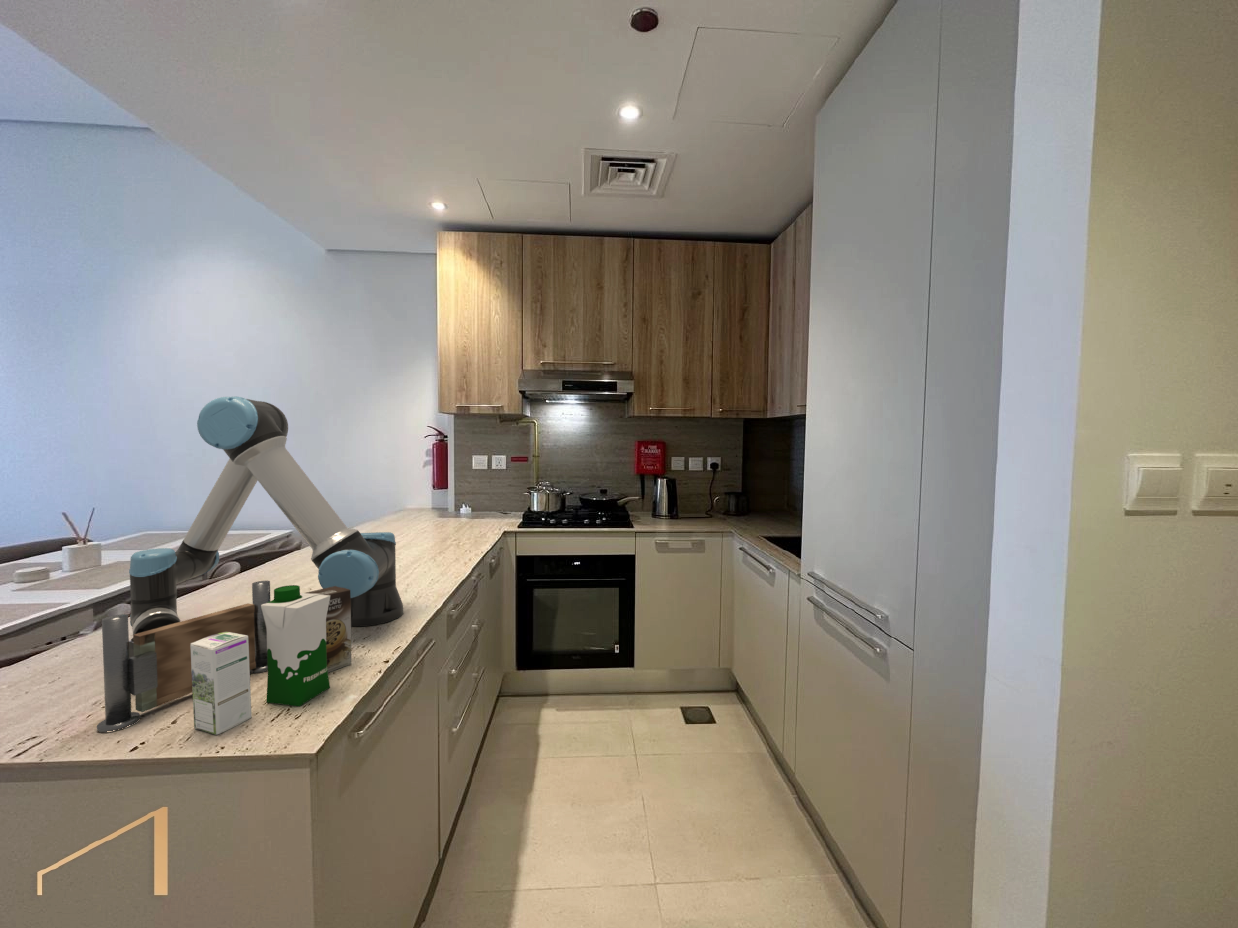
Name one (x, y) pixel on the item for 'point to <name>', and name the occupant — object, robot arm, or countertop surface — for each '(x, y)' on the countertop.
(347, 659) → the brown cookie box
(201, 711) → the syrup box
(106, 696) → the latch post
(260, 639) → the hinge post
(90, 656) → the countertop surface
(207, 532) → the robot arm
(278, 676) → the milk carton
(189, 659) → the gate
